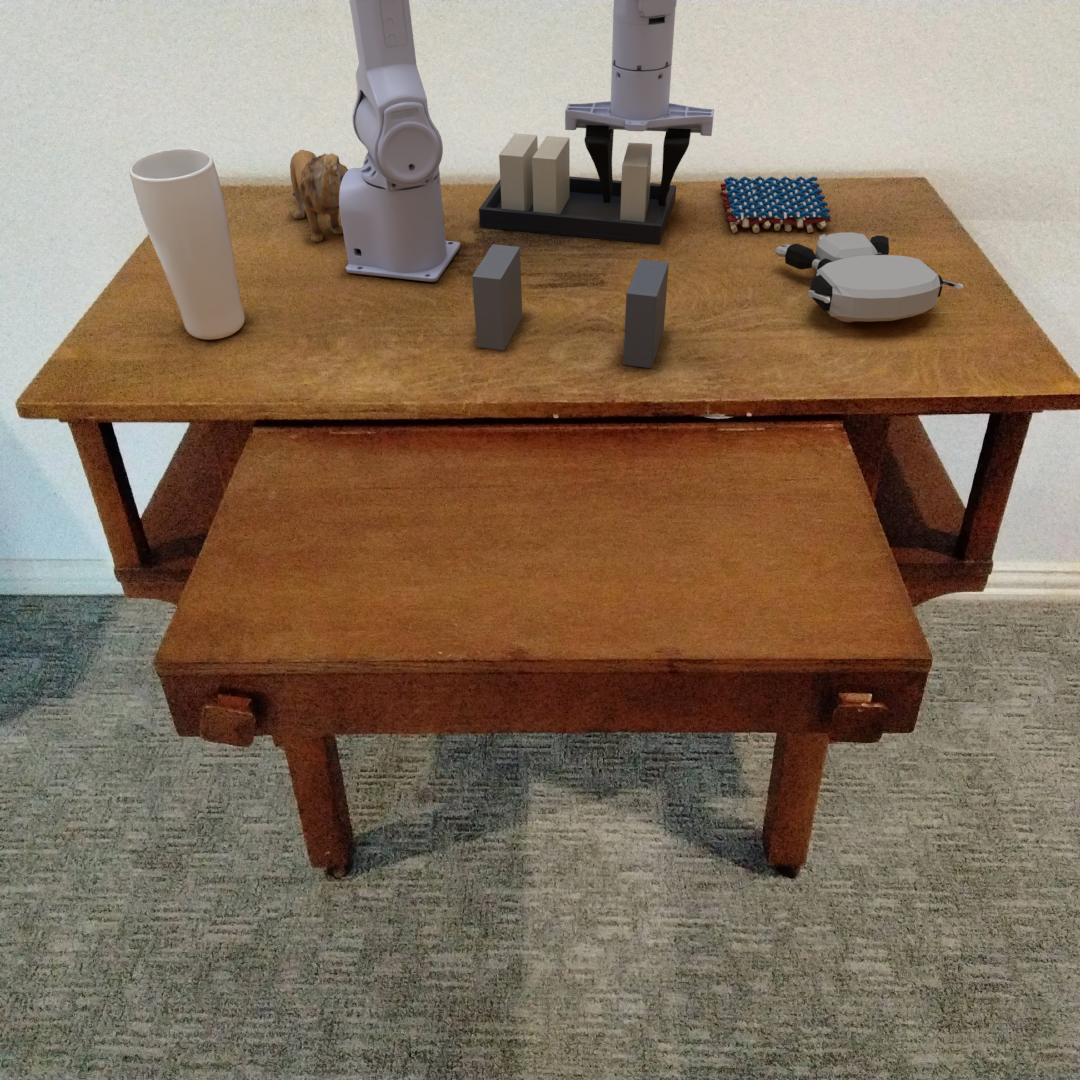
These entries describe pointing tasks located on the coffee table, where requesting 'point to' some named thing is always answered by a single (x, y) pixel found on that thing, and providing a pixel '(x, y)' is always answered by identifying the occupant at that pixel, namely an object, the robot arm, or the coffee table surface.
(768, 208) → the woven mat
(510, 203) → the cream books on tray
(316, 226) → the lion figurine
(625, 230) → the tray
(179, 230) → the drinking glass
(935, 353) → the coffee table surface
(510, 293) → the grey books
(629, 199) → the cream rectangular block
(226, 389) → the coffee table surface
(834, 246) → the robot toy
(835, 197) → the coffee table surface
